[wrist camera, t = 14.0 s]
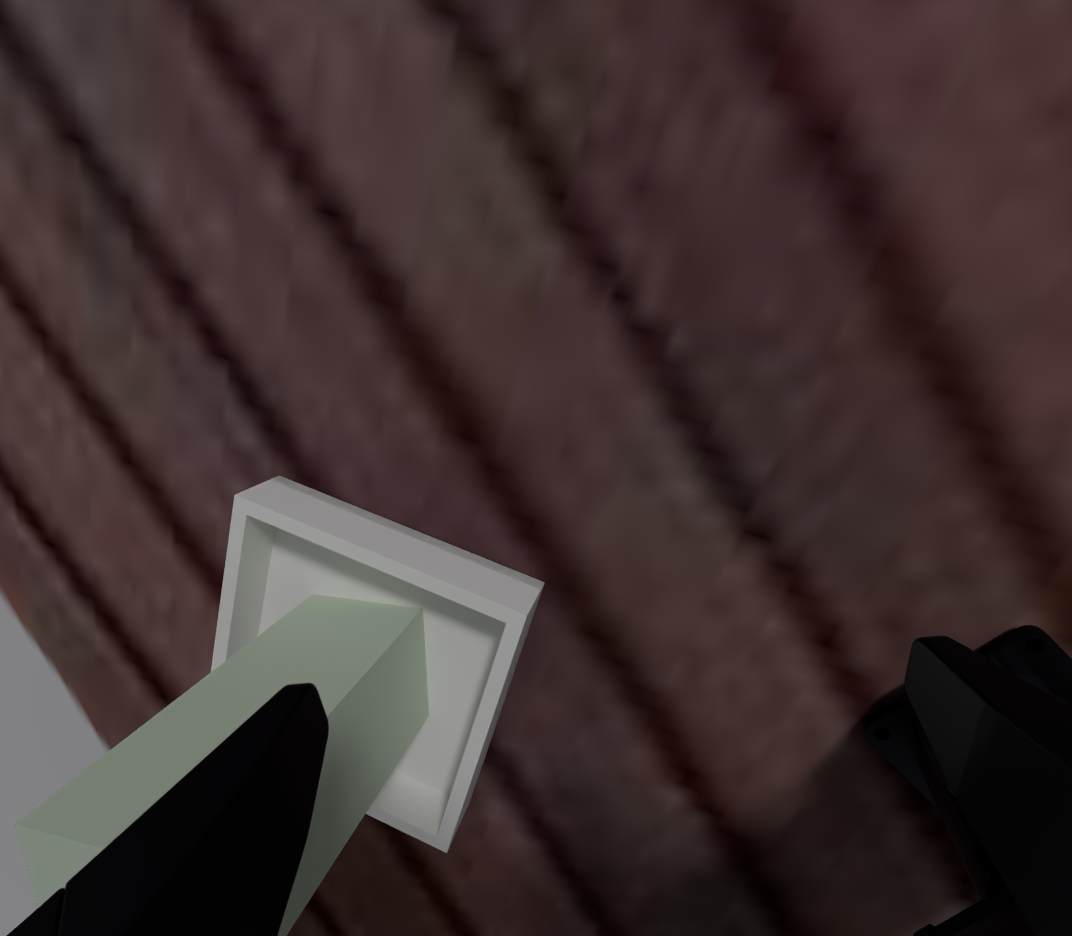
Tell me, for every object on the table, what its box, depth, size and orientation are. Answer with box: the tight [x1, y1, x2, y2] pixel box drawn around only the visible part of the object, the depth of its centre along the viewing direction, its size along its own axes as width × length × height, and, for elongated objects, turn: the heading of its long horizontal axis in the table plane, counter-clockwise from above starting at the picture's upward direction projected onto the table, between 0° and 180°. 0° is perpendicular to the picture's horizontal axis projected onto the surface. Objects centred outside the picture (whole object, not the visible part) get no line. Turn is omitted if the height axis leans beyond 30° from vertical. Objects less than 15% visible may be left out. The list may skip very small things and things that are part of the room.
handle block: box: [14, 594, 429, 936], centre depth 20 cm, size 5×5×12 cm
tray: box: [211, 476, 545, 853], centre depth 25 cm, size 12×12×3 cm
